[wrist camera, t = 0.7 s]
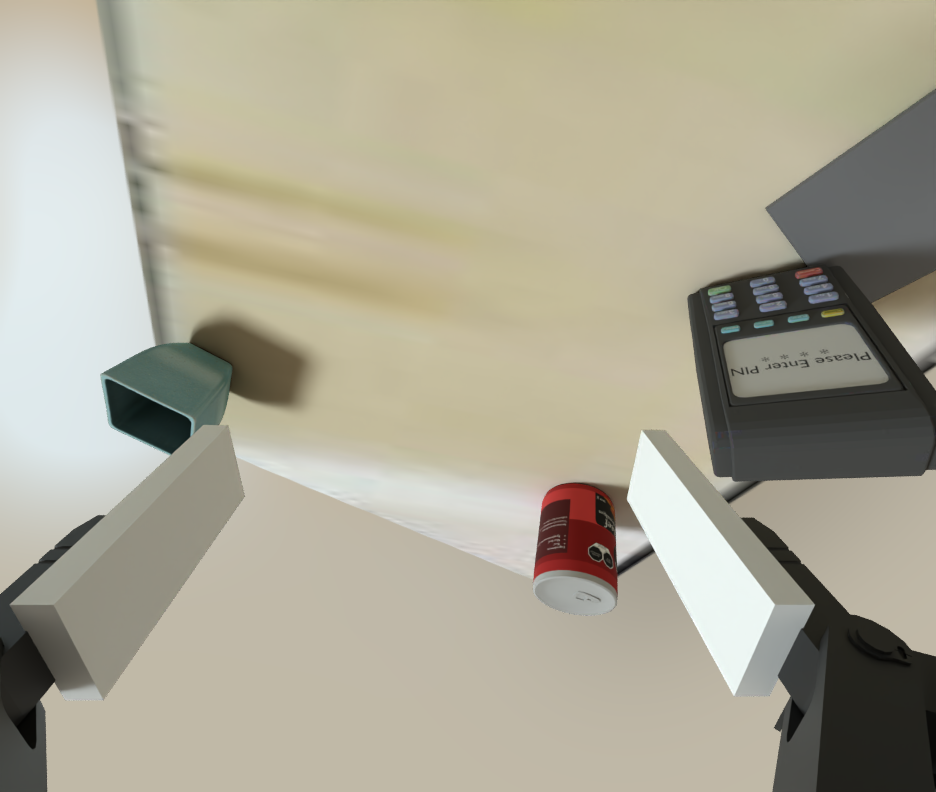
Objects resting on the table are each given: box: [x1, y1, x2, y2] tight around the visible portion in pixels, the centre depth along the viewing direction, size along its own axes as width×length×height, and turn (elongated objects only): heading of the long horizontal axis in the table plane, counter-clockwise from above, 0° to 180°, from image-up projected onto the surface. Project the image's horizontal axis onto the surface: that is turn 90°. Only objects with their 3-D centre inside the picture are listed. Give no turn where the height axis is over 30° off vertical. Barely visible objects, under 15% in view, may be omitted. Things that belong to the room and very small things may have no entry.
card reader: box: [688, 264, 936, 482], centre depth 26 cm, size 9×4×15 cm, turn 112°
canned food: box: [533, 483, 618, 616], centre depth 47 cm, size 8×8×11 cm
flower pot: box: [100, 343, 232, 456], centre depth 46 cm, size 9×9×9 cm
